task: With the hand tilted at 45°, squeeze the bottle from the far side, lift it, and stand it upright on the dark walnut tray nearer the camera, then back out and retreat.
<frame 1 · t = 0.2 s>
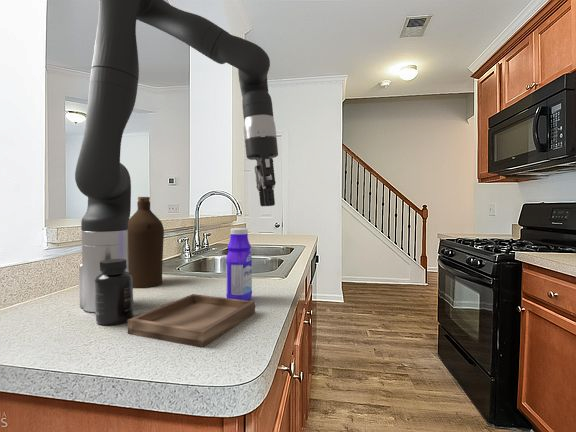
hand: (267, 206, 83), 23 cm above the countertop, tool pointing down, fingers open, 8 cm apart
walnut tray: (196, 322, 69), on the countertop
olive oil: (144, 284, 100), on the countertop
supplement bottle: (114, 321, 70), on the countertop
bottle: (239, 300, 84), on the countertop
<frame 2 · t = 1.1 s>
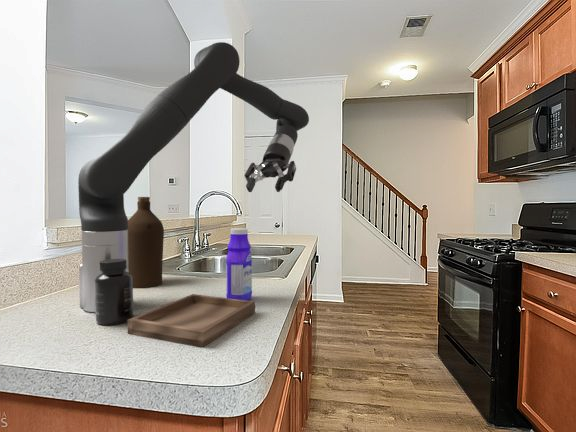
hand: (262, 189, 95), 27 cm above the countertop, tool tilted 45°, fingers open, 8 cm apart
nothing on the countertop moved.
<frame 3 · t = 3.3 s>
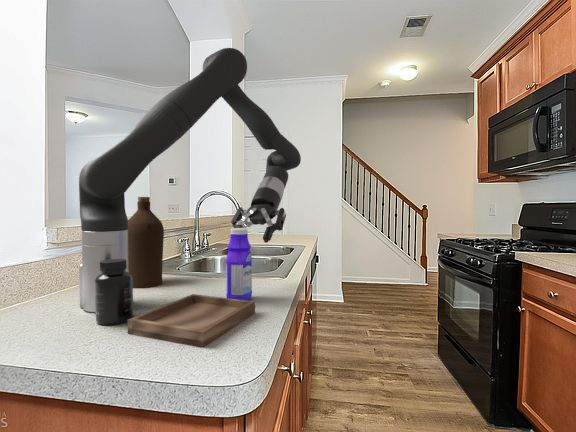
hand: (249, 239, 89), 14 cm above the countertop, tool tilted 45°, fingers open, 8 cm apart
nothing on the countertop moved.
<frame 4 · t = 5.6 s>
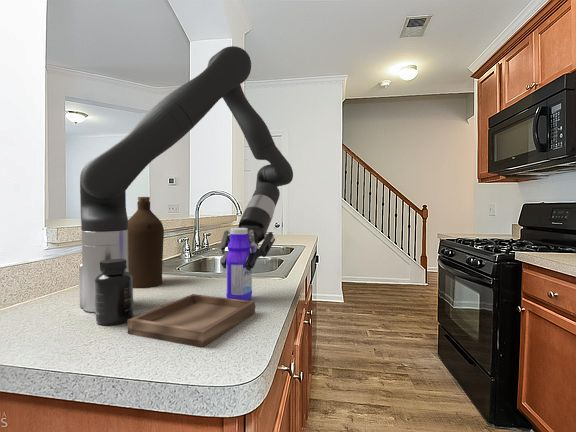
hand: (235, 267, 82), 8 cm above the countertop, tool tilted 45°, fingers closed on bottle, 5 cm apart
bottle: (239, 300, 84), on the countertop, touching gripper
everything else where it was.
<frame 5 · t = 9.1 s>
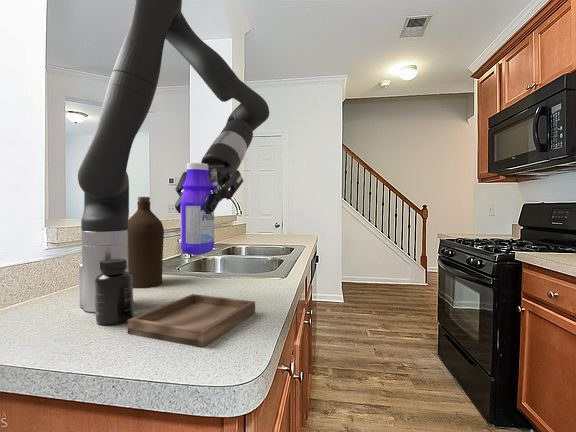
hand: (192, 210, 67), 22 cm above the countertop, tool tilted 45°, fingers closed on bottle, 5 cm apart
bottle: (197, 253, 69), point 14 cm above the countertop, touching gripper
everything else where it was.
when the fingers open (10 cm above the countertop, at t = 12.6 s): bottle stays where it is, resting on walnut tray.
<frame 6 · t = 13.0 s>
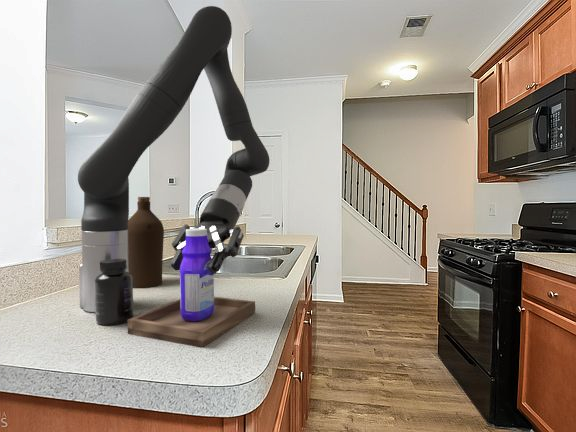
hand: (192, 269, 67), 11 cm above the countertop, tool tilted 45°, fingers open, 8 cm apart
bottle: (197, 318, 69), point 1 cm above the countertop, touching walnut tray
everything else where it was.
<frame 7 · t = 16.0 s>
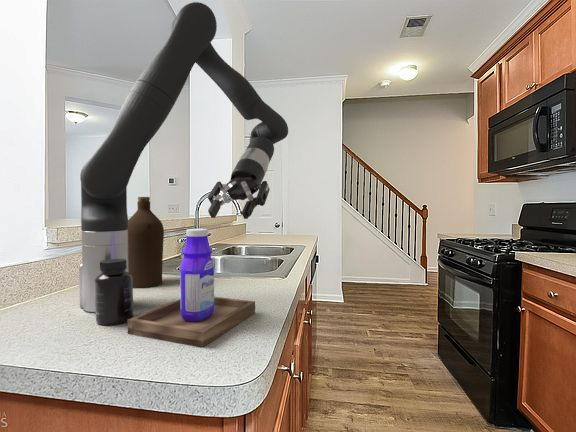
hand: (227, 215, 78), 21 cm above the countertop, tool tilted 45°, fingers open, 8 cm apart
nothing on the countertop moved.
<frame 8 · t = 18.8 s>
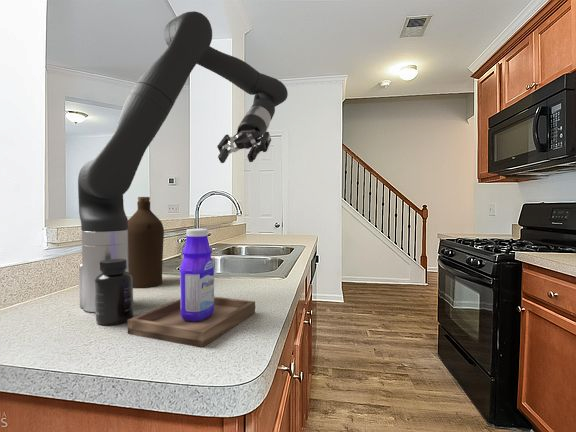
hand: (235, 160, 91), 35 cm above the countertop, tool tilted 45°, fingers open, 8 cm apart
nothing on the countertop moved.
at the end: bottle inside the target area on the walnut tray (0.2 cm from its centre), point 0.8 cm above the walnut tray's base; bottle tilted 0°; the gripper is holding nothing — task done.
